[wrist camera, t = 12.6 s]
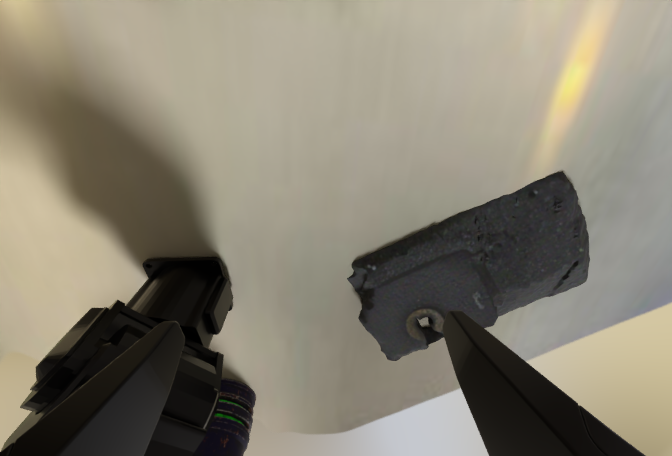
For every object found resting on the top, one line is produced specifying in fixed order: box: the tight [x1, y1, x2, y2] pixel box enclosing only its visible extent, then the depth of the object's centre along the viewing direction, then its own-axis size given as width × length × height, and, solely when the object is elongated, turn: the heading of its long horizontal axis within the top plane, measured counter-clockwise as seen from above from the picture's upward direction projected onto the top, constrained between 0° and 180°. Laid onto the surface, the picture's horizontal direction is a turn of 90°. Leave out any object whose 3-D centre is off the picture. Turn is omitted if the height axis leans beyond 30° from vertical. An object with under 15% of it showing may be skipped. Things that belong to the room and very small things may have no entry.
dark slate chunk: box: [347, 172, 590, 361], centre depth 24 cm, size 15×22×5 cm
